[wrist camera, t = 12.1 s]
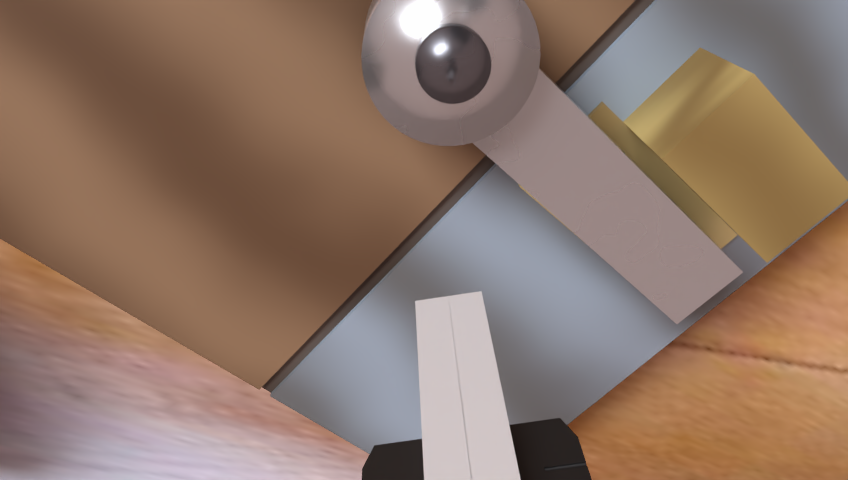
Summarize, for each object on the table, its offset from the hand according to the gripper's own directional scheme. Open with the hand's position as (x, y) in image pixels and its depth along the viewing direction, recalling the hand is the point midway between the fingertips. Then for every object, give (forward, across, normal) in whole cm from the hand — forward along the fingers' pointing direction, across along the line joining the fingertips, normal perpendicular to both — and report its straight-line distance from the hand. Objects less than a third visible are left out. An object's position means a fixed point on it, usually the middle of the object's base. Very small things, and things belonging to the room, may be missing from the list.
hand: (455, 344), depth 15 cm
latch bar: (+7, +4, +2) cm, 8 cm away
